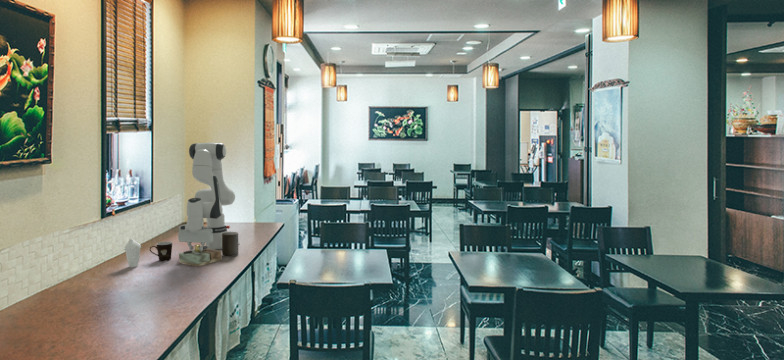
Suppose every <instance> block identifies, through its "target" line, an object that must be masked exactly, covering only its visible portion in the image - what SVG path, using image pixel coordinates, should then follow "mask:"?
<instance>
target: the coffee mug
mask: <svg viewBox="0 0 784 360" xmlns="http://www.w3.org/2000/svg"><path fill="white" fill-rule="evenodd" d="M155 245H156V246H155ZM155 245H152V246H150V247H149V251H150V252H151V254H153V255H155V256H157V257H158V260H159V262H167V261H171V260H172V253H173V241H161V242H160V241H159V242H157V243H155ZM152 248H155V250H157V253H155V252H153V251H152Z"/></svg>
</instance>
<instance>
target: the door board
mask: <svg viewBox="0 0 784 360" xmlns="http://www.w3.org/2000/svg"><path fill="white" fill-rule="evenodd" d="M178 261H179V263H180V264H183V263H184V265H187V264H188V265H187V266H191V265H192V267H195V266H196V268H198V267H202V266H205V265H209V264H212V262H213V263H216V262H219V261H222V250H220V249H209V248H207V250H205V251H203V252H202V253H200V254H195V249H193V250H190V249H189V250H187V251H186V250H185V251H183V252H179V253H178Z"/></svg>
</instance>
